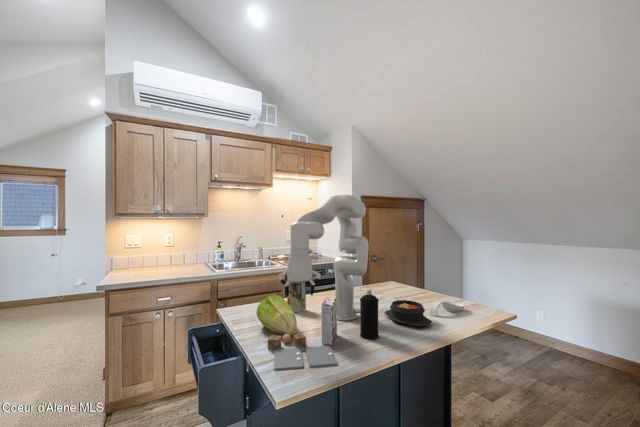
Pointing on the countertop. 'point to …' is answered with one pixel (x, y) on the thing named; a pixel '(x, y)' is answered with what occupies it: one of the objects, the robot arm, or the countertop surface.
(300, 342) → the walnut cube
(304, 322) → the countertop surface
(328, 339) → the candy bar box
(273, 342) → the walnut cube
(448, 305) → the white slipper
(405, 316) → the casserole
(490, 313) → the countertop surface
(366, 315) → the aerosol can
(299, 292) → the coffee box
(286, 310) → the lettuce
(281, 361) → the pad two
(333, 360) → the pad one
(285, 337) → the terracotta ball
